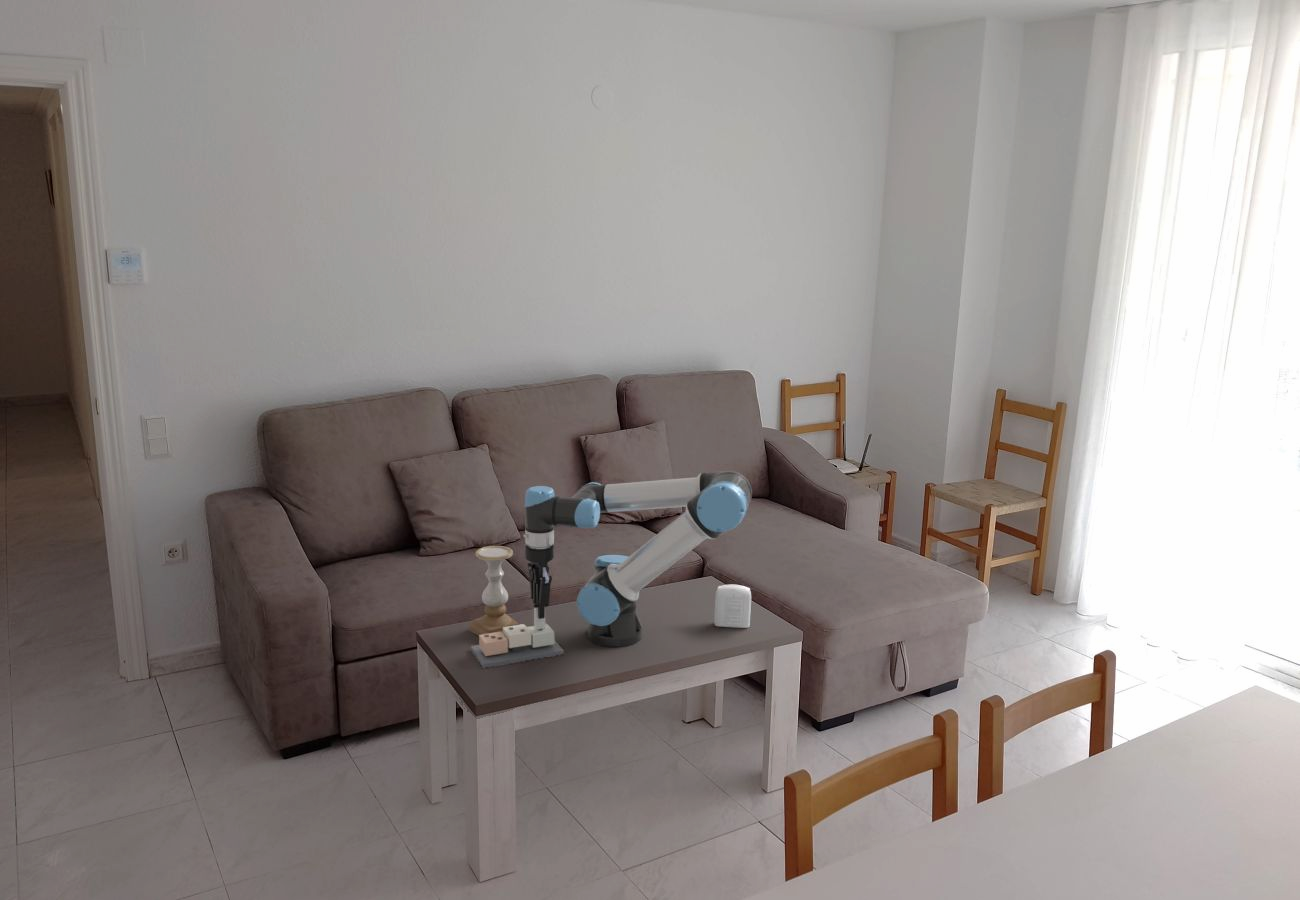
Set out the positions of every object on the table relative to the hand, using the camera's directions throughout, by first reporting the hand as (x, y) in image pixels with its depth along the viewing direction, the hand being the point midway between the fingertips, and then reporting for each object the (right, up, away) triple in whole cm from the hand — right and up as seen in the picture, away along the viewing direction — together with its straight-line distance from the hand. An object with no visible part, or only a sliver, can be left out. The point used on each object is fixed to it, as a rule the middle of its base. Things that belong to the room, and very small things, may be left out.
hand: (539, 627), depth 275 cm
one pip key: (0, -4, +1) cm, 4 cm away
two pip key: (-6, -3, -2) cm, 7 cm away
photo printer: (+53, -3, +19) cm, 57 cm away
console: (-6, -6, -1) cm, 9 cm away
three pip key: (-12, -5, -4) cm, 14 cm away
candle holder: (-14, -3, +11) cm, 18 cm away
